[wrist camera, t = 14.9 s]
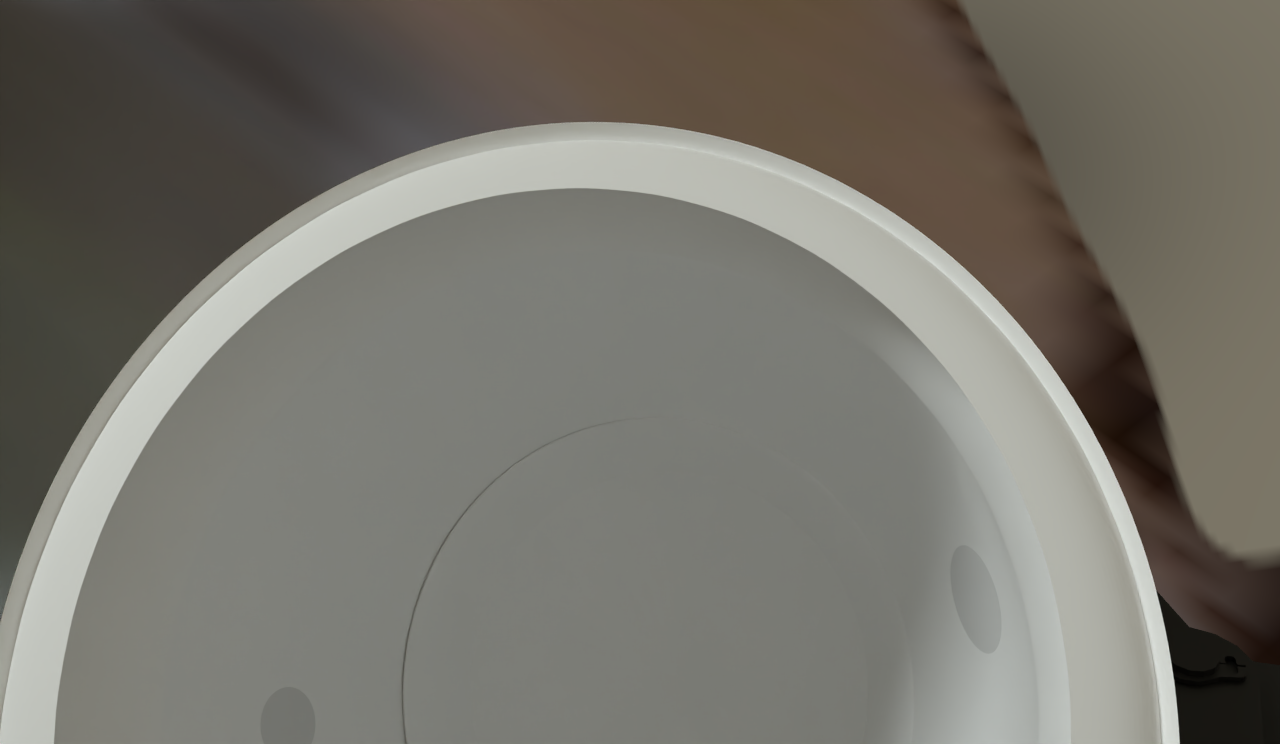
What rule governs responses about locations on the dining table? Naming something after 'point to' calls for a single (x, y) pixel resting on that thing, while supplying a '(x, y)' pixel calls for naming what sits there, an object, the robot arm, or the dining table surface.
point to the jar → (585, 479)
